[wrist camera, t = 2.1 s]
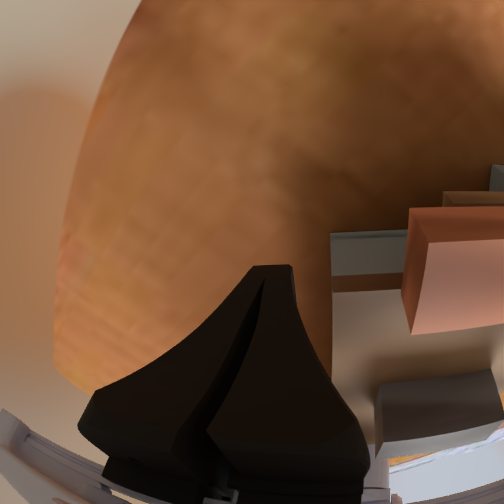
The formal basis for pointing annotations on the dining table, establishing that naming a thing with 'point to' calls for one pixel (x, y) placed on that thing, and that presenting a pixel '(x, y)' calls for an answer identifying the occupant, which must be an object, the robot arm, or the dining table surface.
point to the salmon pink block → (454, 268)
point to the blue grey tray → (380, 245)
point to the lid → (414, 365)
